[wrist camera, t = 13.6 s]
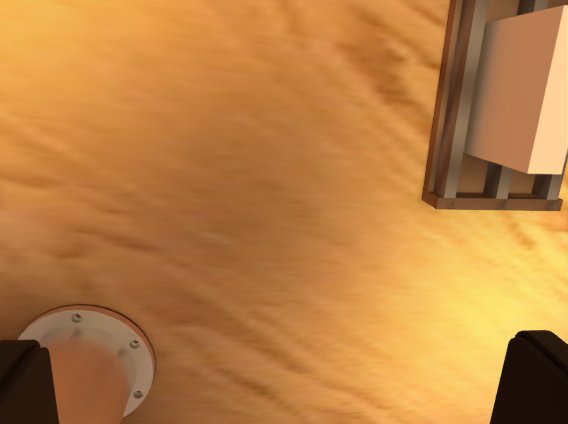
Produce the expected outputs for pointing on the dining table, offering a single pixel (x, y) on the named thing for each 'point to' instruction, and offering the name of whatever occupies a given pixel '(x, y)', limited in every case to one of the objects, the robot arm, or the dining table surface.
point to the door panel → (522, 93)
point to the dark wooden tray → (455, 115)
